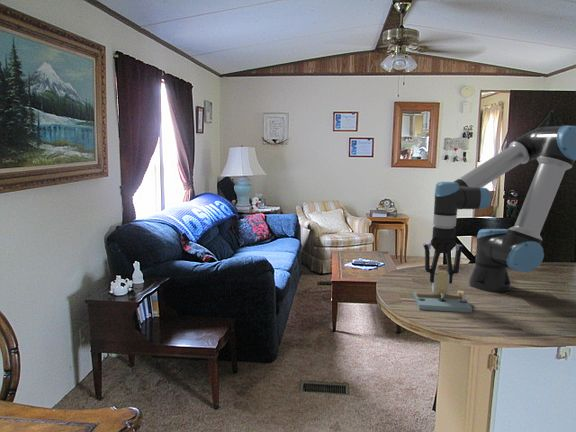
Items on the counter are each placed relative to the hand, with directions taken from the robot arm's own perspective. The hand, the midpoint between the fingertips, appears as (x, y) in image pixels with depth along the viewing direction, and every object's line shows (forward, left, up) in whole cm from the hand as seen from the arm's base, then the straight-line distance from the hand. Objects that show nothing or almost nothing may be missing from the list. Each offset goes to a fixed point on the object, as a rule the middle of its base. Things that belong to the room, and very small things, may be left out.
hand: (440, 291), depth 162 cm
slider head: (0, +1, -2) cm, 2 cm away
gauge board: (0, +2, -4) cm, 4 cm away
